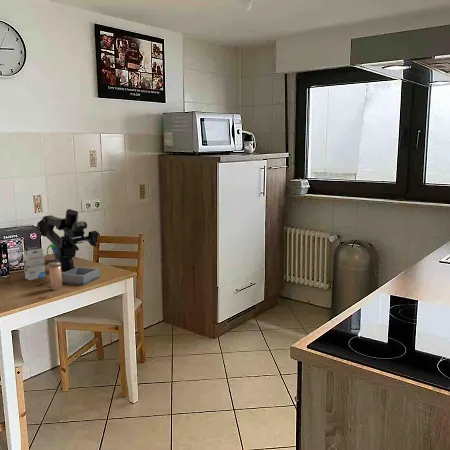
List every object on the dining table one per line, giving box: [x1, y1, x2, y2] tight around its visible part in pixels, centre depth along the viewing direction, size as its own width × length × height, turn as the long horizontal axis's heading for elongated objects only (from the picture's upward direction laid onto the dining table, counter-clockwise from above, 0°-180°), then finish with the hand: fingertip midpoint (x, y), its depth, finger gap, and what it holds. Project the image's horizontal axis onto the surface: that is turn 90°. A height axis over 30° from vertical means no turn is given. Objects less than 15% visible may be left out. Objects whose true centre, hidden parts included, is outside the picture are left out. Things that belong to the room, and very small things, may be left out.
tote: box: [61, 266, 101, 286], centre depth 219 cm, size 13×13×4 cm
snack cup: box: [46, 242, 77, 262], centre depth 255 cm, size 16×10×10 cm
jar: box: [47, 261, 63, 291], centre depth 206 cm, size 5×5×12 cm
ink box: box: [22, 247, 46, 281], centre depth 223 cm, size 8×5×15 cm, turn 136°
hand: (87, 247), depth 218 cm, fingers open, 9 cm apart
